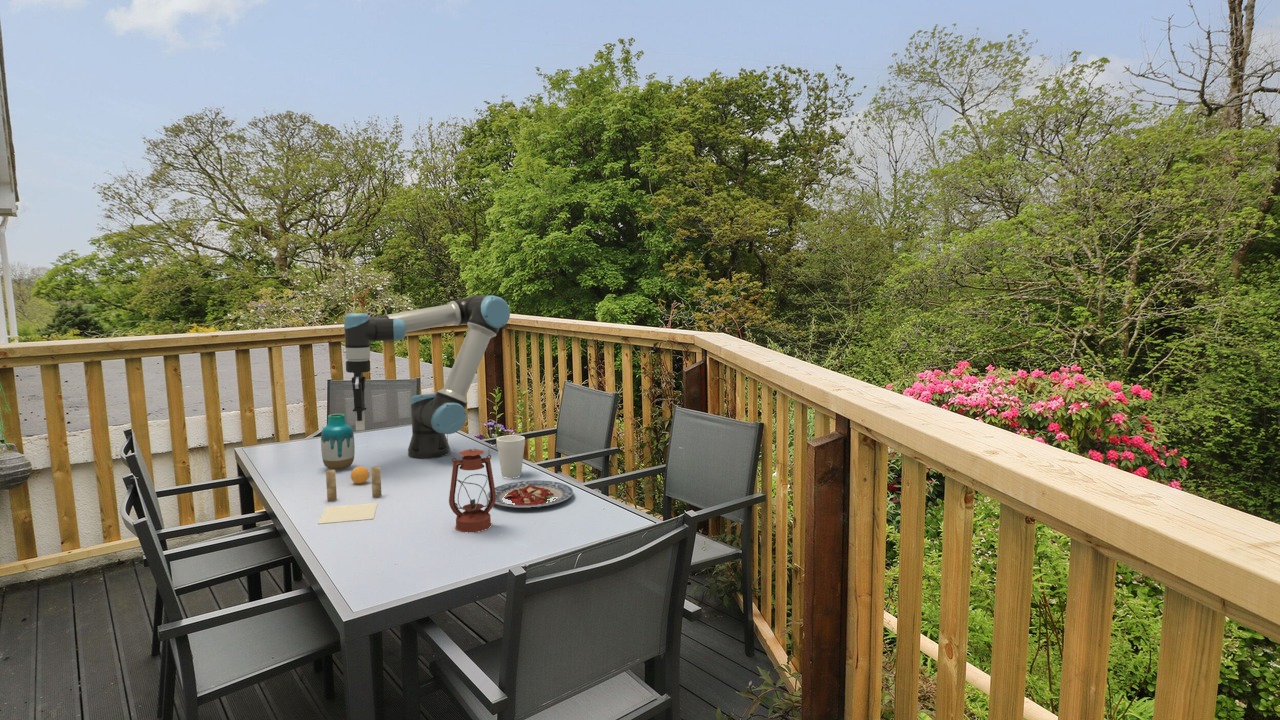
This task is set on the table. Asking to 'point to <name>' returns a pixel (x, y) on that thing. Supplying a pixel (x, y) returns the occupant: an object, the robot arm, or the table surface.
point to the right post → (376, 482)
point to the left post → (331, 485)
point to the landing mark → (348, 513)
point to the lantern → (473, 515)
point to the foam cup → (511, 454)
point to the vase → (337, 443)
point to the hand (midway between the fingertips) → (360, 429)
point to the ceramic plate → (531, 493)
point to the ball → (360, 475)
